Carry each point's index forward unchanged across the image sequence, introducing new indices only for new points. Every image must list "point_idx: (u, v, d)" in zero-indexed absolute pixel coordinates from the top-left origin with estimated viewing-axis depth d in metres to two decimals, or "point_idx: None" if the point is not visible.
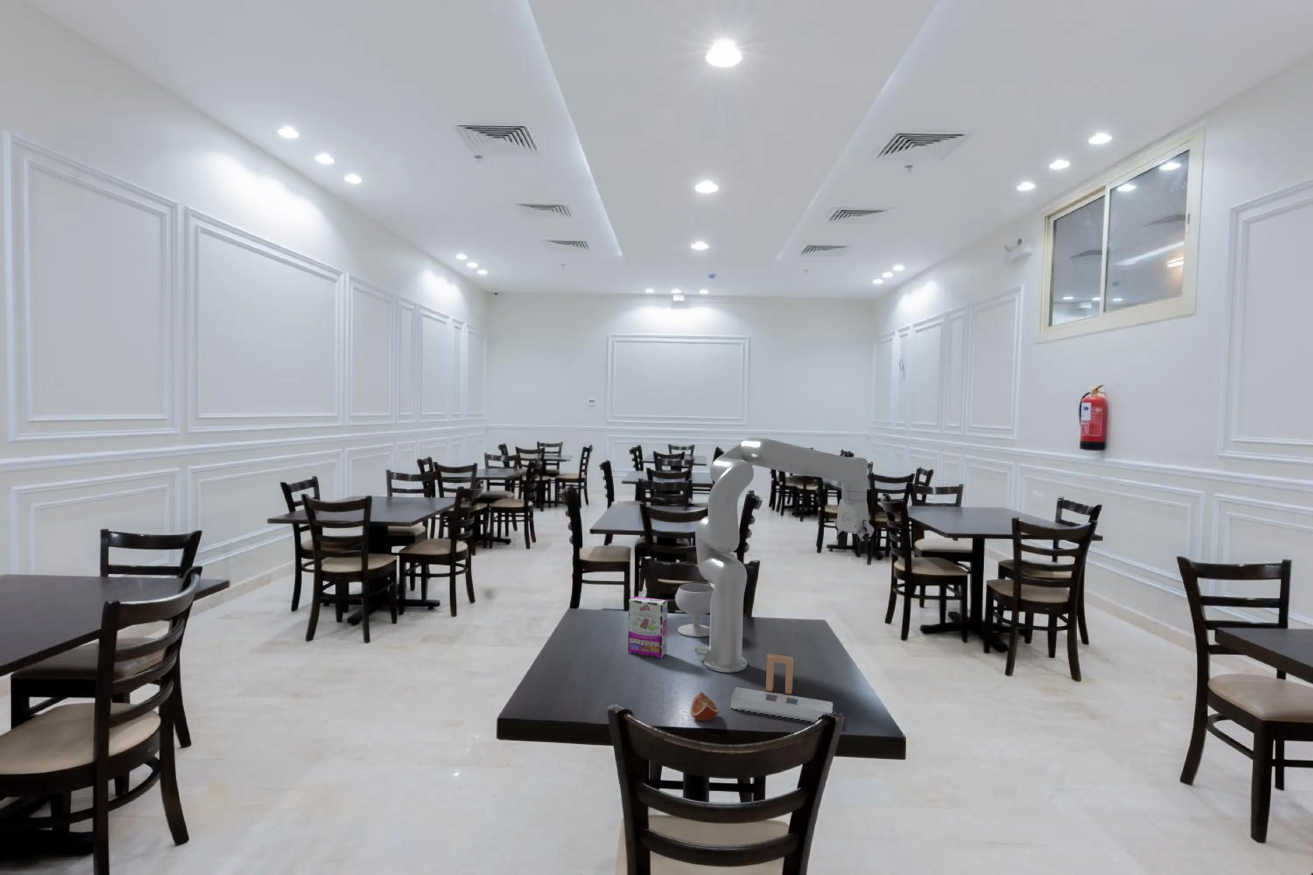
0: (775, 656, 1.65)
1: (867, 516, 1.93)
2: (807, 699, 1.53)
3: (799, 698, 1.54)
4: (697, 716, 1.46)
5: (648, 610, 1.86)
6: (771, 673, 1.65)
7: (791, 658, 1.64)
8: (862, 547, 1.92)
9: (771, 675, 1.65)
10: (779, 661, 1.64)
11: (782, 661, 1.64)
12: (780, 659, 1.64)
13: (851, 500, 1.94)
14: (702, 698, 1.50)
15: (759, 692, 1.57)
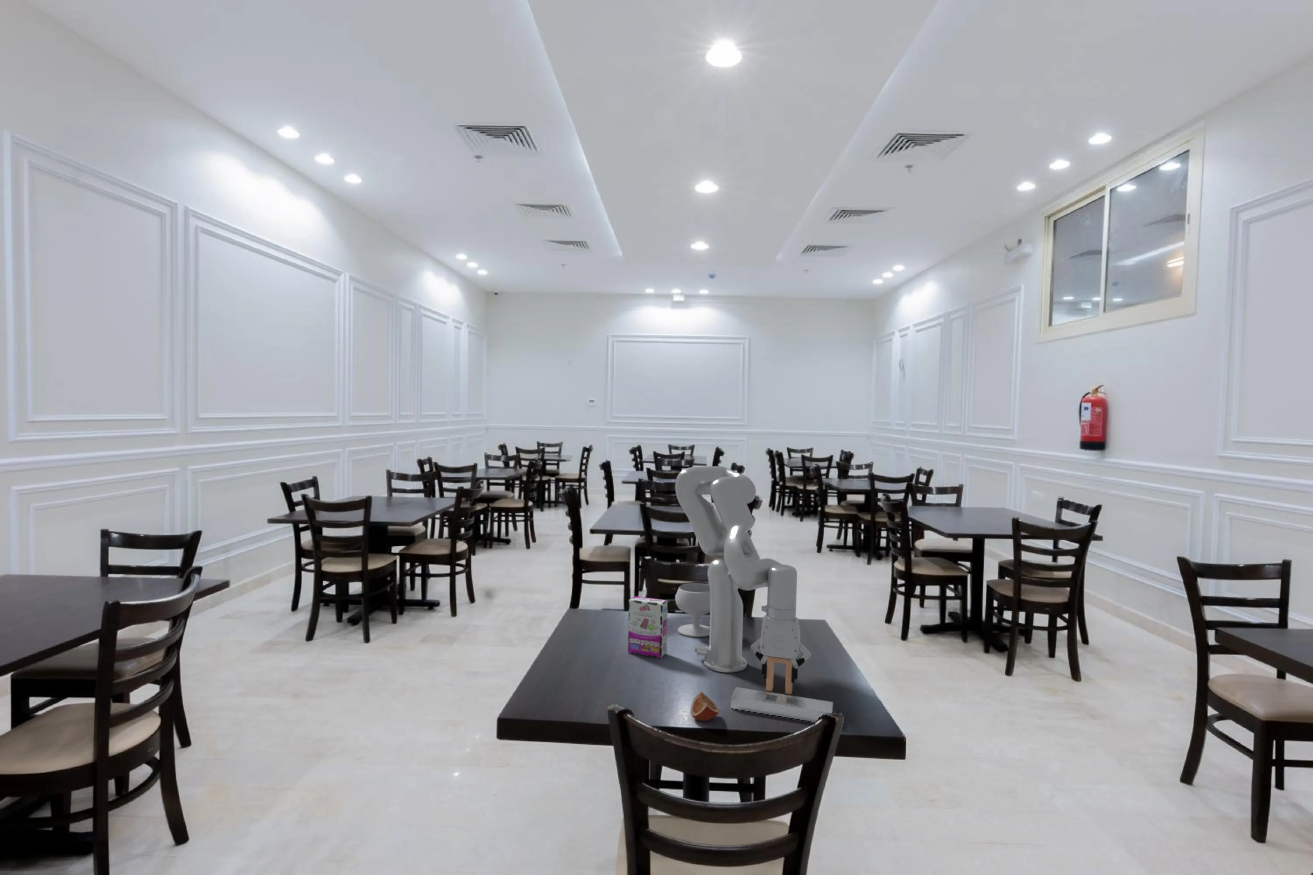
0: None
1: None
2: (807, 699, 1.53)
3: (799, 698, 1.54)
4: (697, 716, 1.46)
5: (648, 610, 1.86)
6: (771, 673, 1.65)
7: None
8: (795, 675, 1.63)
9: (771, 675, 1.65)
10: (779, 661, 1.64)
11: (782, 661, 1.64)
12: (780, 659, 1.64)
13: (788, 620, 1.61)
14: (702, 698, 1.50)
15: (759, 692, 1.57)
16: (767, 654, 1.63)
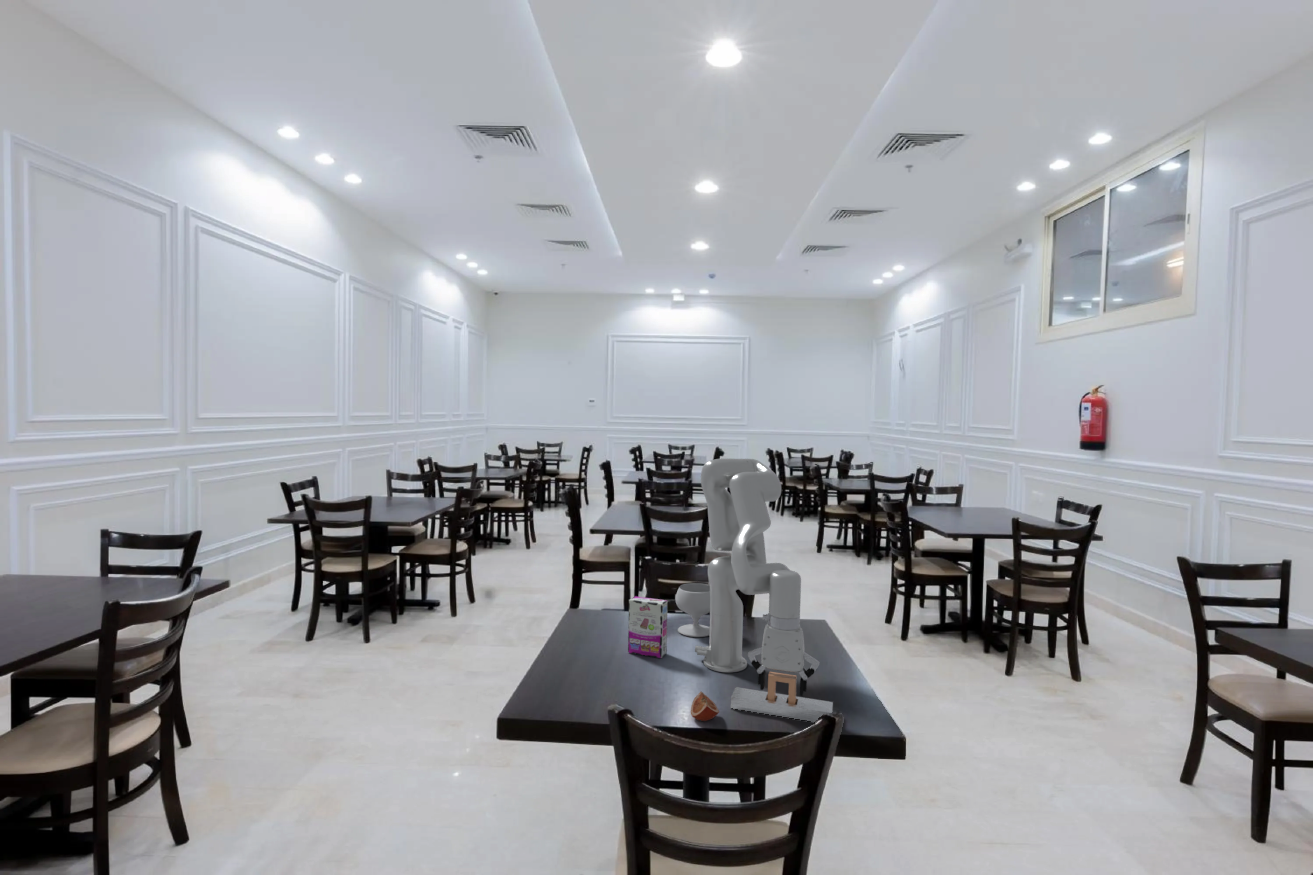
0: (777, 674, 1.53)
1: None
2: (807, 699, 1.53)
3: (799, 698, 1.54)
4: (697, 716, 1.46)
5: (648, 610, 1.86)
6: (773, 693, 1.53)
7: (794, 677, 1.52)
8: (804, 686, 1.51)
9: (773, 695, 1.53)
10: (781, 680, 1.52)
11: (785, 680, 1.52)
12: (782, 678, 1.52)
13: (792, 630, 1.49)
14: (702, 698, 1.50)
15: (759, 692, 1.57)
16: (769, 667, 1.51)
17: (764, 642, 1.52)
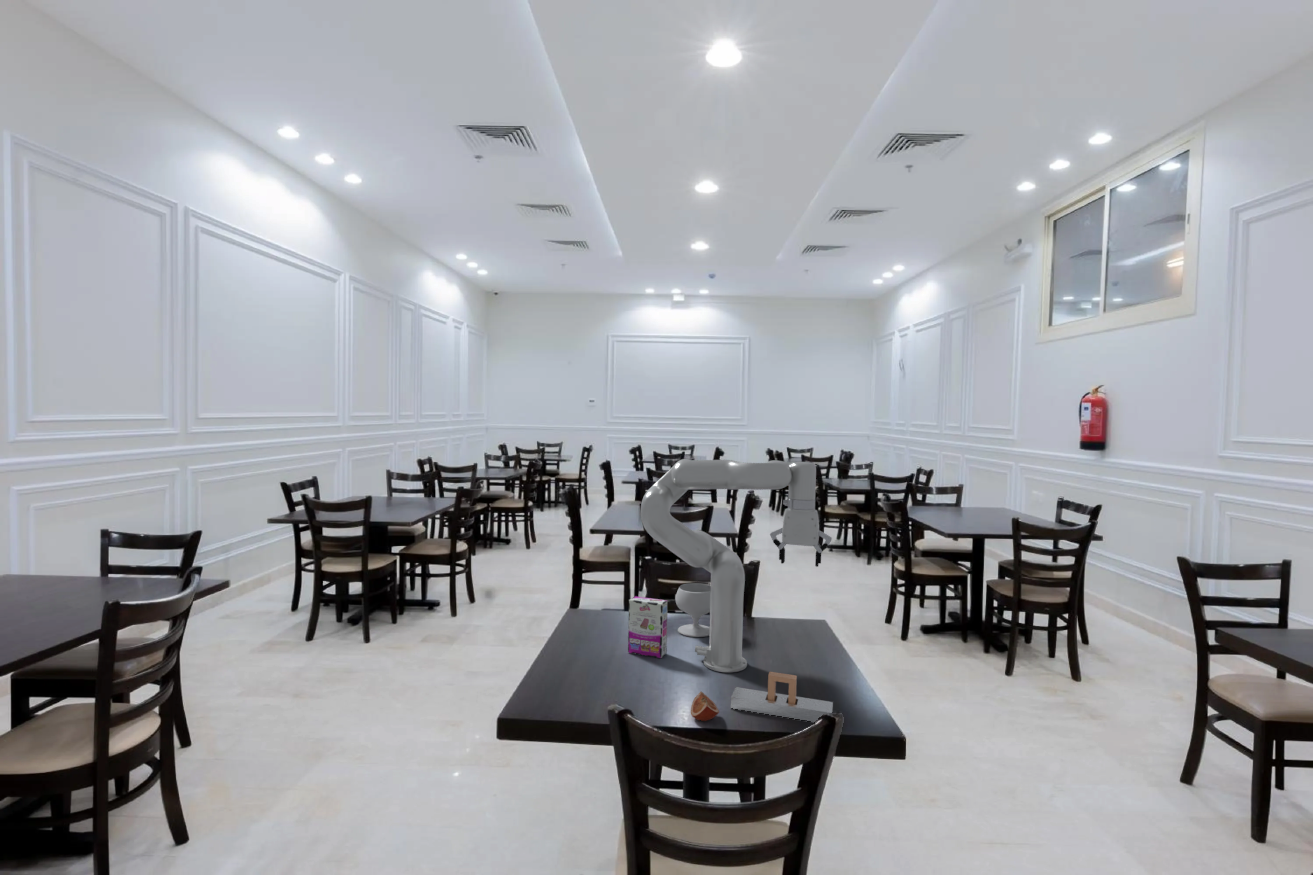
0: (777, 674, 1.53)
1: None
2: (807, 699, 1.53)
3: (799, 698, 1.54)
4: (697, 716, 1.46)
5: (648, 610, 1.86)
6: (773, 693, 1.53)
7: (794, 677, 1.52)
8: (819, 559, 1.77)
9: (773, 695, 1.53)
10: (781, 680, 1.52)
11: (785, 680, 1.52)
12: (783, 678, 1.52)
13: (808, 510, 1.76)
14: (702, 698, 1.50)
15: (759, 692, 1.57)
16: (788, 542, 1.78)
17: (784, 522, 1.78)
